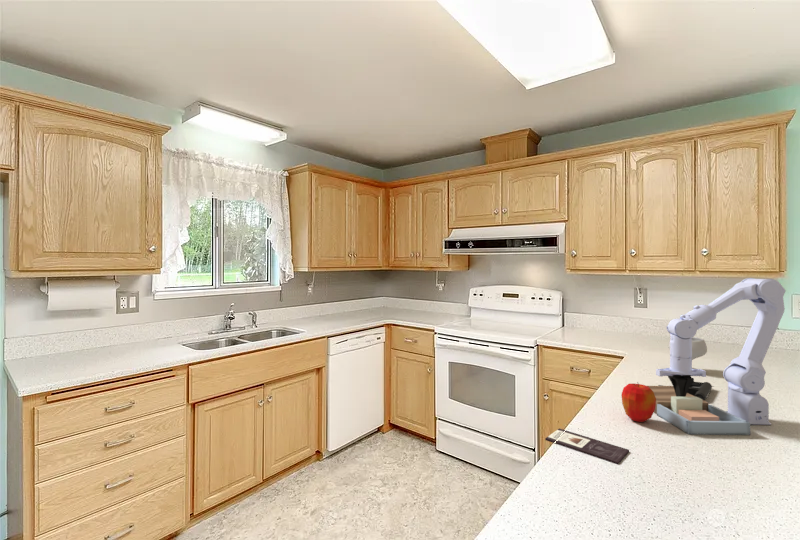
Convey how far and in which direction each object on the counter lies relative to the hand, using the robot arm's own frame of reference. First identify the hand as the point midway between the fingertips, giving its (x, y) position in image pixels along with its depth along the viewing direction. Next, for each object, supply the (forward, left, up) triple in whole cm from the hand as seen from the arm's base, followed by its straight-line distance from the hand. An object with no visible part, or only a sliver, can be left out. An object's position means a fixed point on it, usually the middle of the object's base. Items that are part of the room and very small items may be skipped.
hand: (680, 398), depth 124 cm
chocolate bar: (-23, +41, -6) cm, 47 cm away
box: (-9, 0, -5) cm, 10 cm away
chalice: (+51, -38, -5) cm, 64 cm away
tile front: (-8, 0, -2) cm, 8 cm away
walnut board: (+7, 0, -5) cm, 9 cm away
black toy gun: (+22, -17, -6) cm, 29 cm away
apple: (-6, +17, -5) cm, 19 cm away
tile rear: (-1, 0, -2) cm, 2 cm away
